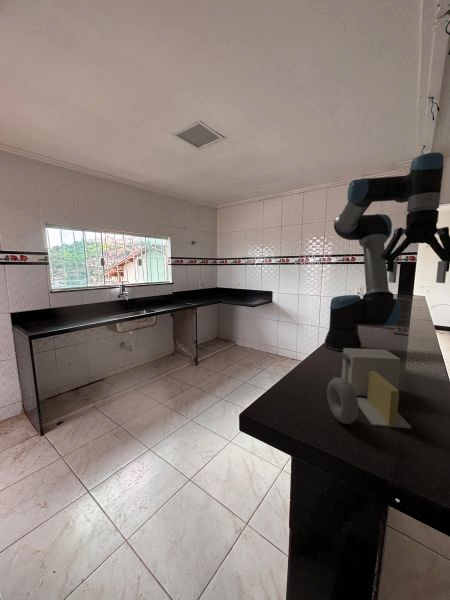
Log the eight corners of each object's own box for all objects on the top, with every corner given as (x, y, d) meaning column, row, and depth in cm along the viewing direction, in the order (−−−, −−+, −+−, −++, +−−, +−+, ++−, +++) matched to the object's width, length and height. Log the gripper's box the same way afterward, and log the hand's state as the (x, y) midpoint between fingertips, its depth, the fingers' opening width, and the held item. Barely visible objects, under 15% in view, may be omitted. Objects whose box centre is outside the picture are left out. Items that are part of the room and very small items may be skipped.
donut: (323, 408, 64) (325, 370, 62) (336, 408, 64) (338, 370, 63) (344, 434, 54) (347, 389, 52) (360, 433, 54) (363, 389, 53)
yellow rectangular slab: (388, 425, 56) (391, 390, 55) (367, 399, 67) (369, 371, 66) (396, 425, 56) (399, 391, 55) (373, 400, 67) (375, 371, 66)
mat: (353, 398, 68) (353, 397, 68) (384, 400, 67) (385, 399, 67) (372, 425, 57) (372, 423, 57) (411, 428, 56) (411, 426, 56)
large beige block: (338, 382, 78) (340, 347, 77) (382, 384, 77) (385, 349, 75) (347, 394, 71) (349, 356, 69) (397, 398, 69) (400, 359, 68)
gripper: (383, 209, 73) (378, 283, 76) (480, 206, 70) (471, 283, 72) (372, 215, 80) (367, 281, 83) (459, 212, 77) (451, 282, 80)
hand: (415, 282), depth 78 cm, fingers open, 13 cm apart
